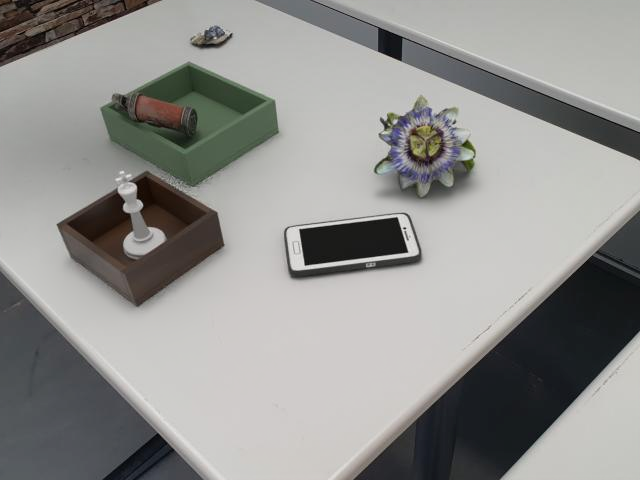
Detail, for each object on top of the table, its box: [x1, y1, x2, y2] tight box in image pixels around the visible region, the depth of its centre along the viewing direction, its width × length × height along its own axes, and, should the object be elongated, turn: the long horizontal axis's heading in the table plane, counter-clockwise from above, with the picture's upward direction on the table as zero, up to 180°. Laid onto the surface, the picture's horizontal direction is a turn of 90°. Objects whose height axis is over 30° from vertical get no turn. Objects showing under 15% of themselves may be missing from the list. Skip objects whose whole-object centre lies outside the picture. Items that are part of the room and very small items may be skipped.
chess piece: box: [114, 170, 167, 260], centre depth 75 cm, size 5×5×10 cm
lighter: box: [111, 92, 198, 137], centre depth 89 cm, size 8×3×10 cm
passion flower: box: [373, 94, 477, 198], centre depth 84 cm, size 11×11×12 cm
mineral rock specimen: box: [189, 25, 230, 46], centre depth 114 cm, size 7×8×2 cm
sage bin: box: [99, 61, 280, 187], centre depth 93 cm, size 18×16×5 cm
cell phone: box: [283, 212, 423, 277], centre depth 77 cm, size 8×15×1 cm, turn 97°
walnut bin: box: [56, 170, 225, 307], centre depth 78 cm, size 13×13×5 cm
